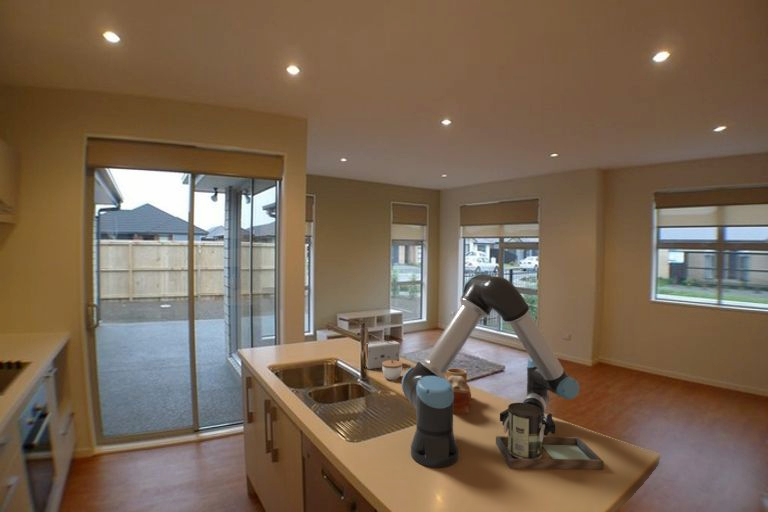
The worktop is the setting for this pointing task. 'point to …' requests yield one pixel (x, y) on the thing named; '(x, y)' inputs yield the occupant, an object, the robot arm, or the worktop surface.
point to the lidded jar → (392, 369)
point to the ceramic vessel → (459, 390)
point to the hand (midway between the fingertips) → (522, 432)
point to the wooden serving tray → (590, 463)
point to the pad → (564, 452)
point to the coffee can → (524, 431)
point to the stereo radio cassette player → (382, 353)
